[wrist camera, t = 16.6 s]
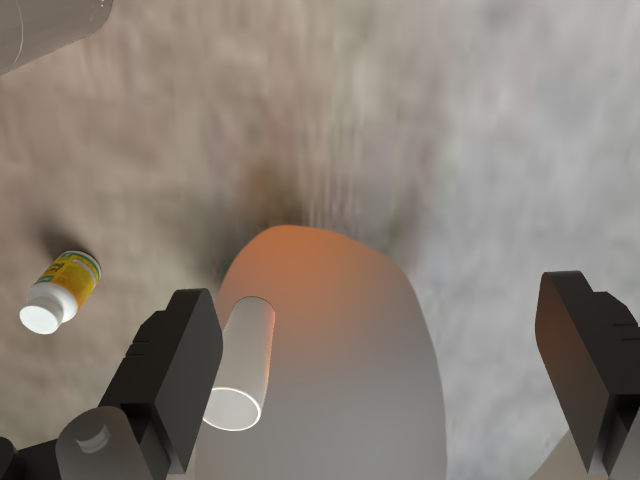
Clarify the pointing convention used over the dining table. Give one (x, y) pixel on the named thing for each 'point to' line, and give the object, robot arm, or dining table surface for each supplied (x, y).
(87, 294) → the supplement bottle
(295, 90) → the dining table surface
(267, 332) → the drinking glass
